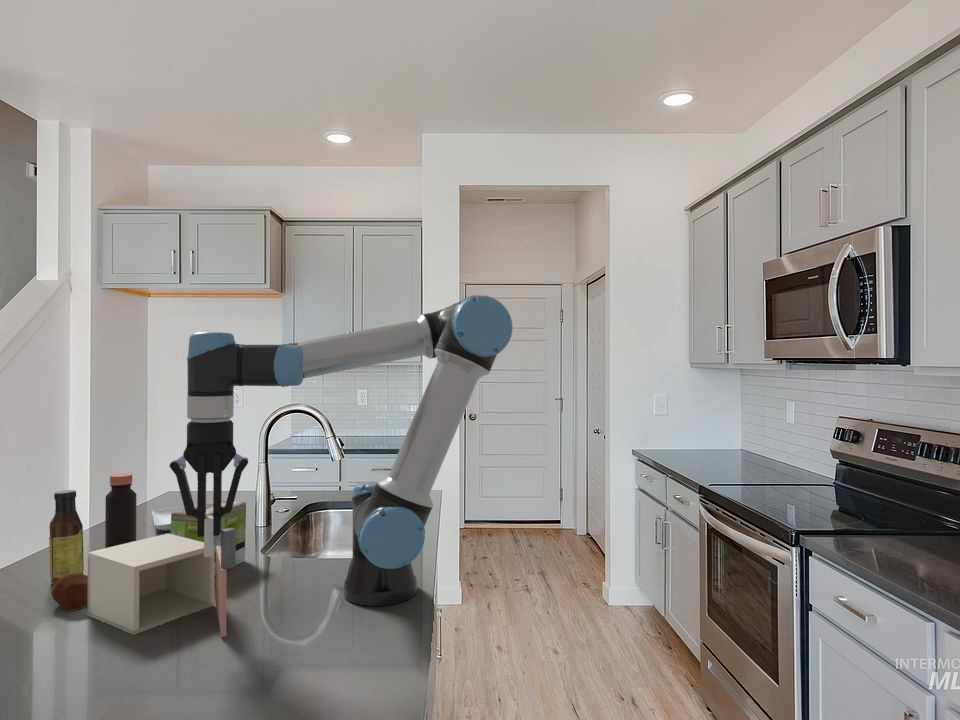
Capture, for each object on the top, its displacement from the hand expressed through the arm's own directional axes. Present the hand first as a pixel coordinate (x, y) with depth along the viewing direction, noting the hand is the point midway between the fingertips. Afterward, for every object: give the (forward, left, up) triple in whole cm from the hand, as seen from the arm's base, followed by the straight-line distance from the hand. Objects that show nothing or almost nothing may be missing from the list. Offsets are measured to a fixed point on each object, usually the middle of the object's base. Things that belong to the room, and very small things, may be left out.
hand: (209, 554), depth 110 cm
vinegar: (+62, -17, -15) cm, 66 cm away
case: (+20, -1, -15) cm, 25 cm away
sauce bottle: (+52, 0, -15) cm, 54 cm away
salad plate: (+77, -46, -15) cm, 91 cm away
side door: (+4, -6, -14) cm, 16 cm away
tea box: (+33, -22, -15) cm, 42 cm away
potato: (+36, +6, -15) cm, 39 cm away
